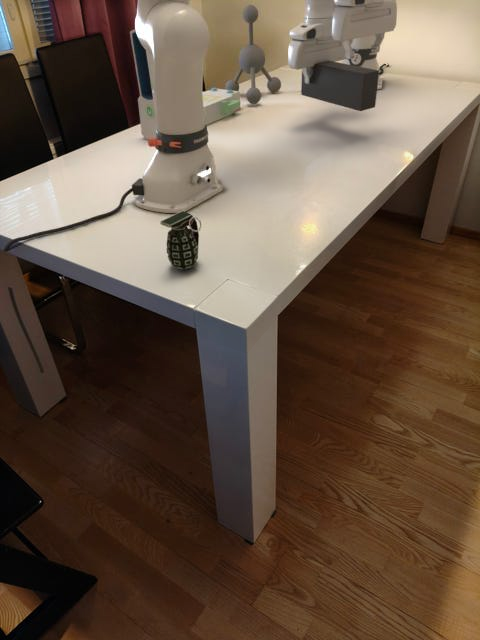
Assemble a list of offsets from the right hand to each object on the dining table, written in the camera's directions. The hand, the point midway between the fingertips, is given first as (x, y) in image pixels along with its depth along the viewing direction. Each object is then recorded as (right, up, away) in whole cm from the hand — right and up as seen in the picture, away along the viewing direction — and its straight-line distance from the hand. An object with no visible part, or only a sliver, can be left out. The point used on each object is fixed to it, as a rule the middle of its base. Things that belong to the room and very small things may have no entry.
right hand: (317, 80), depth 148 cm
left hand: (+9, -2, -17) cm, 20 cm away
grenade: (-34, -63, -57) cm, 91 cm away
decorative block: (-35, -1, +22) cm, 42 cm away
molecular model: (-17, +13, +40) cm, 45 cm away
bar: (+5, -7, -3) cm, 10 cm away
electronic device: (-48, -16, +5) cm, 50 cm away
